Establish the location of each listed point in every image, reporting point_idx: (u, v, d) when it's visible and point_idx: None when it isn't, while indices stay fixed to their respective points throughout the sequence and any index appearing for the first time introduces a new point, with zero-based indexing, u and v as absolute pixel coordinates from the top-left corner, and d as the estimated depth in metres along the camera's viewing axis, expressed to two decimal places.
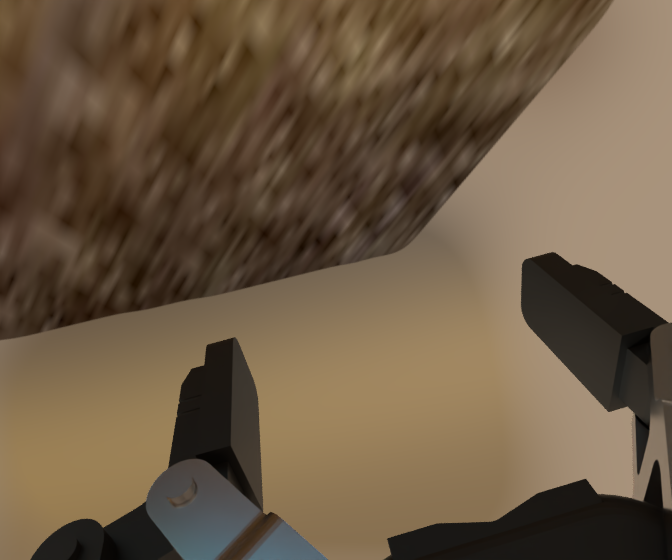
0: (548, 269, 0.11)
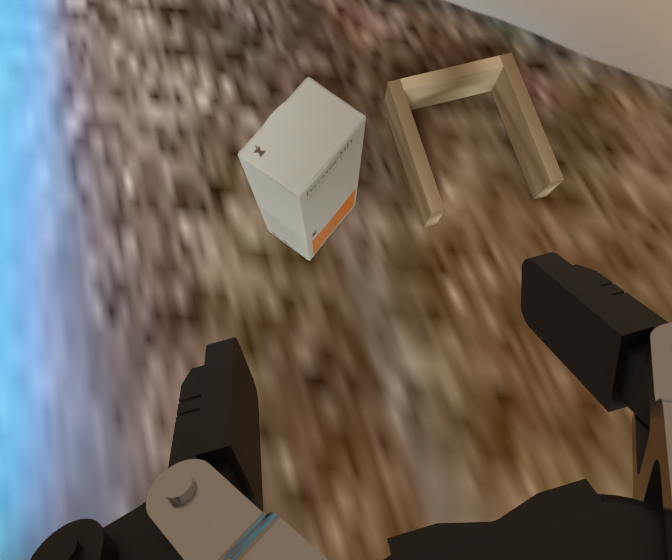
0: (548, 269, 0.11)
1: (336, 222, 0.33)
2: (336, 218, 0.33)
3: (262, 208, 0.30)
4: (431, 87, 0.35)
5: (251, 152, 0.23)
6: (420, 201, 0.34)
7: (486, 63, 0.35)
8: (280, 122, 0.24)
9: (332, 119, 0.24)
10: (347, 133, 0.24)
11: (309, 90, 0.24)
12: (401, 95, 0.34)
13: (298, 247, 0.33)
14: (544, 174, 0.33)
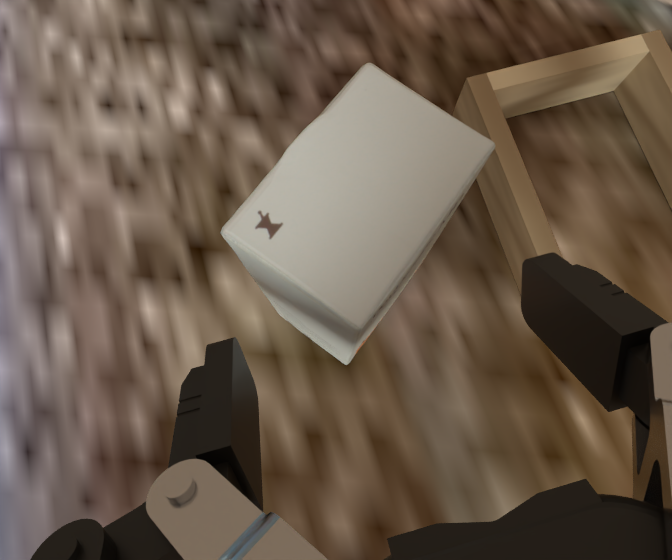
0: (548, 269, 0.11)
1: None
2: None
3: (271, 299, 0.17)
4: (534, 85, 0.22)
5: (251, 228, 0.11)
6: None
7: (621, 47, 0.22)
8: (312, 160, 0.11)
9: (425, 152, 0.11)
10: (460, 182, 0.11)
11: (372, 90, 0.11)
12: (490, 99, 0.22)
13: (331, 351, 0.20)
14: None
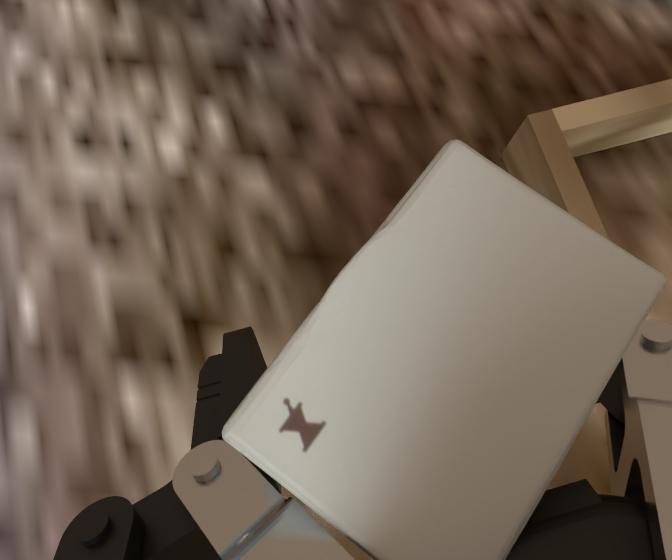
0: None
1: None
2: None
3: None
4: (610, 124, 0.18)
5: (272, 432, 0.06)
6: None
7: None
8: (371, 307, 0.07)
9: (556, 295, 0.07)
10: (618, 350, 0.07)
11: (465, 187, 0.07)
12: (557, 142, 0.17)
13: None
14: None
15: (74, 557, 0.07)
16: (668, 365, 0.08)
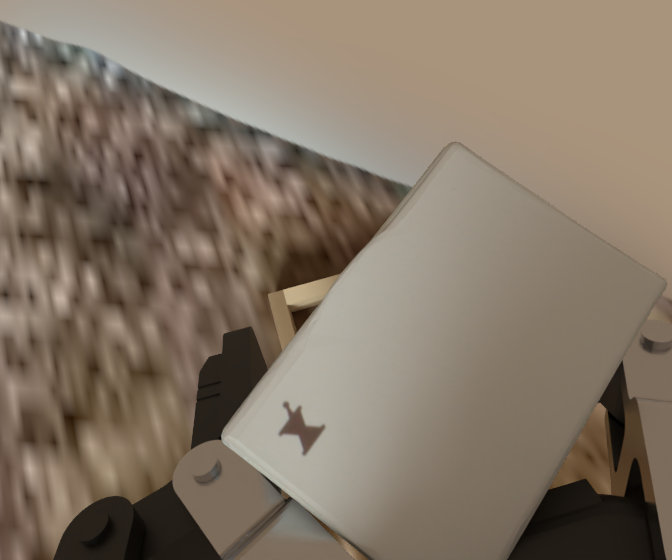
0: None
1: None
2: None
3: None
4: (322, 296, 0.29)
5: (271, 434, 0.06)
6: None
7: None
8: (371, 310, 0.07)
9: (555, 298, 0.07)
10: (617, 353, 0.07)
11: (465, 190, 0.07)
12: (283, 312, 0.29)
13: None
14: None
15: (74, 557, 0.07)
16: (668, 365, 0.08)
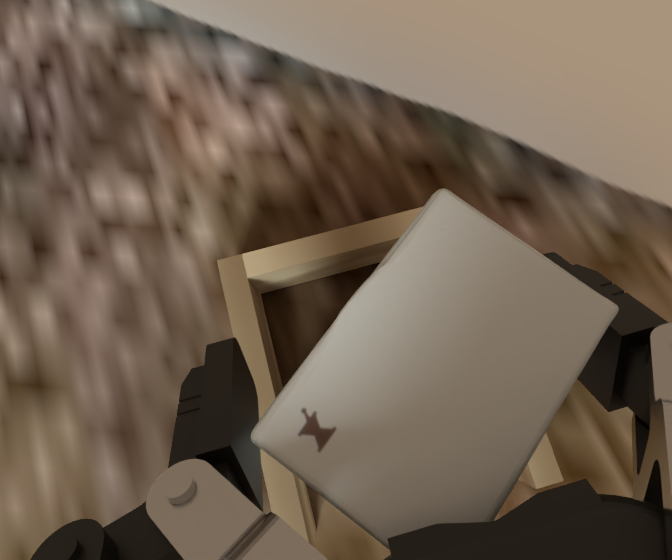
0: None
1: None
2: None
3: None
4: (306, 266, 0.18)
5: (292, 435, 0.08)
6: None
7: (410, 220, 0.18)
8: (373, 332, 0.08)
9: (525, 321, 0.08)
10: (576, 367, 0.08)
11: (451, 230, 0.09)
12: (242, 289, 0.18)
13: None
14: None
15: None
16: None
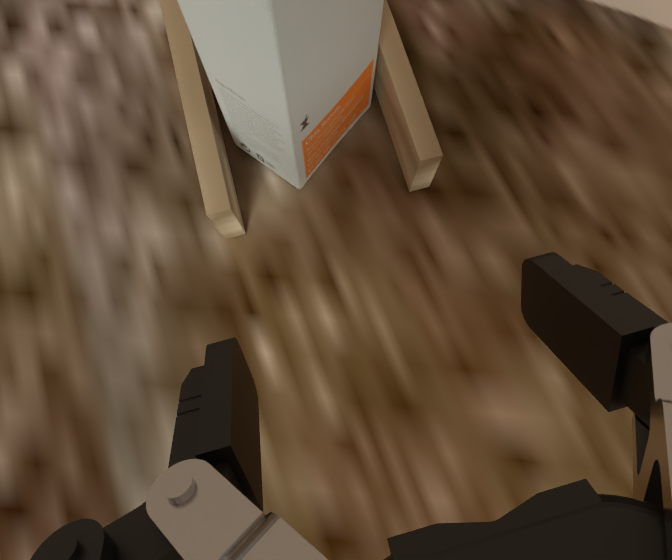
0: (548, 269, 0.11)
1: (342, 124, 0.21)
2: (342, 113, 0.20)
3: (214, 79, 0.17)
4: None
5: None
6: None
7: None
8: None
9: None
10: None
11: None
12: (180, 19, 0.21)
13: (280, 161, 0.20)
14: (412, 148, 0.19)
15: None
16: None
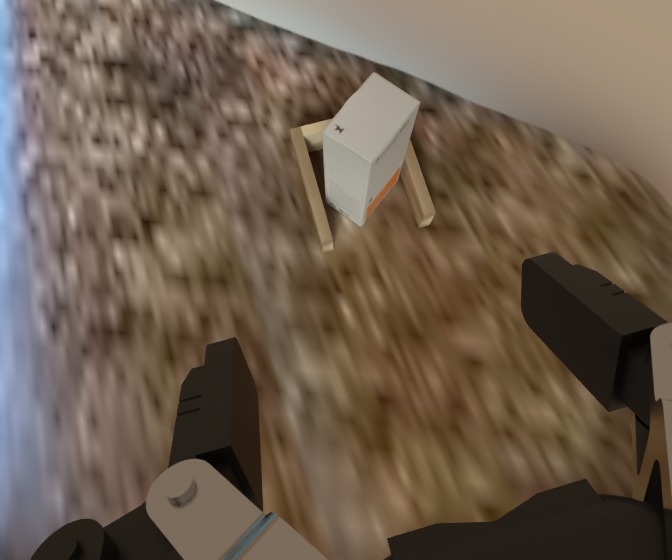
0: (548, 269, 0.11)
1: (384, 194, 0.40)
2: (385, 189, 0.39)
3: (328, 180, 0.37)
4: None
5: (333, 130, 0.30)
6: (317, 231, 0.40)
7: None
8: (354, 107, 0.31)
9: (394, 104, 0.31)
10: (406, 115, 0.31)
11: (375, 82, 0.31)
12: (301, 140, 0.40)
13: (354, 214, 0.39)
14: (420, 208, 0.39)
15: None
16: None
